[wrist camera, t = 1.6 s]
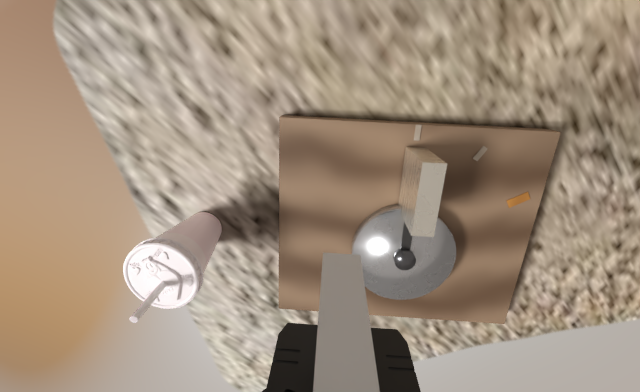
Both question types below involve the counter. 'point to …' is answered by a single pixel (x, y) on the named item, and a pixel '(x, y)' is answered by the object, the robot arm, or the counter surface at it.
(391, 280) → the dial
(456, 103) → the counter surface
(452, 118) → the counter surface
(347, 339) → the robot arm
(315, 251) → the panel
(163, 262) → the smoothie
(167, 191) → the counter surface
